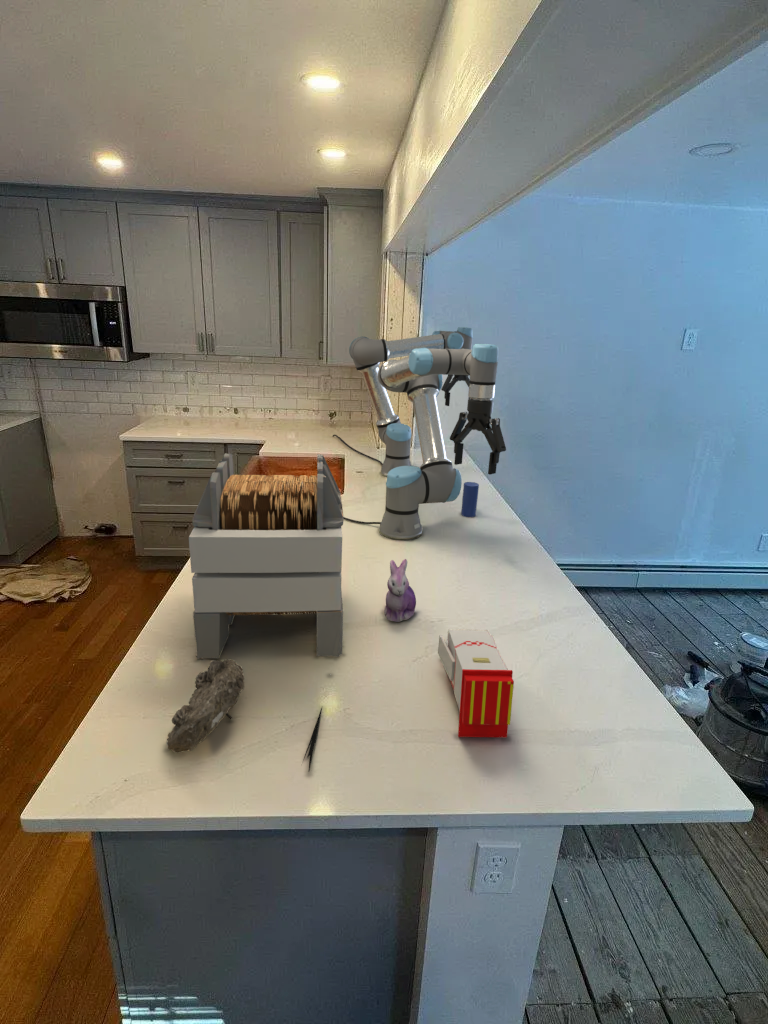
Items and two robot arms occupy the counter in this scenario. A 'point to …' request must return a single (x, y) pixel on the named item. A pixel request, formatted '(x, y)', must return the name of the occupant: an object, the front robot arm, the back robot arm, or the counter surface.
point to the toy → (478, 682)
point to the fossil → (206, 705)
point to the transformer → (267, 553)
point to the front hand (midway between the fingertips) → (474, 468)
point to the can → (469, 499)
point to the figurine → (399, 594)
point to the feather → (313, 740)
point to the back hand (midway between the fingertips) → (458, 405)
